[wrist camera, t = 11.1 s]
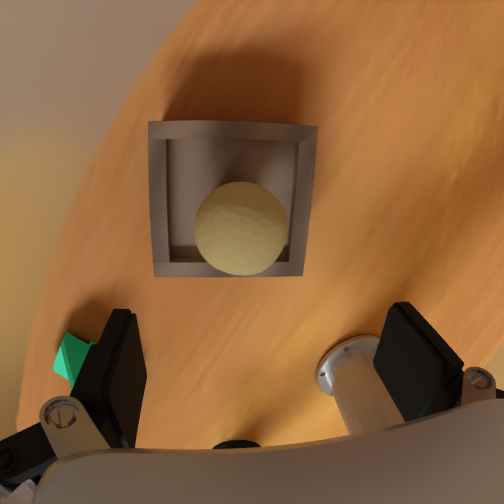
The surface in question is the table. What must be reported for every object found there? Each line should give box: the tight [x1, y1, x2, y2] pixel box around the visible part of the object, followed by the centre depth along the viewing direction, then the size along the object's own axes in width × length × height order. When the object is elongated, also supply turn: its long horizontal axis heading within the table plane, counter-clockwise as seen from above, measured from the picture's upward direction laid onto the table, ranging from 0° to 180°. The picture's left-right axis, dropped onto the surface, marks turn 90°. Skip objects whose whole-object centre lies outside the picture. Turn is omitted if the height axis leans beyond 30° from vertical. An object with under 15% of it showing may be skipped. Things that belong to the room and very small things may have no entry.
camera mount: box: [53, 332, 96, 389], centre depth 37 cm, size 12×8×10 cm, turn 54°
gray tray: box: [148, 120, 318, 277], centre depth 31 cm, size 14×14×7 cm
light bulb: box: [194, 182, 288, 275], centre depth 24 cm, size 6×6×10 cm
